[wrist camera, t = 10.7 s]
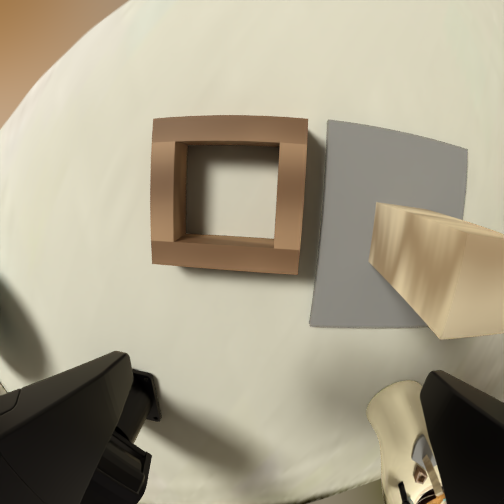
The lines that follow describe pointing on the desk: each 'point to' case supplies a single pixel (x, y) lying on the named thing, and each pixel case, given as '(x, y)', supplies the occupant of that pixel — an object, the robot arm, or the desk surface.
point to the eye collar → (174, 193)
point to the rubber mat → (363, 213)
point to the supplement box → (2, 390)
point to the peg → (442, 269)
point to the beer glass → (404, 446)
